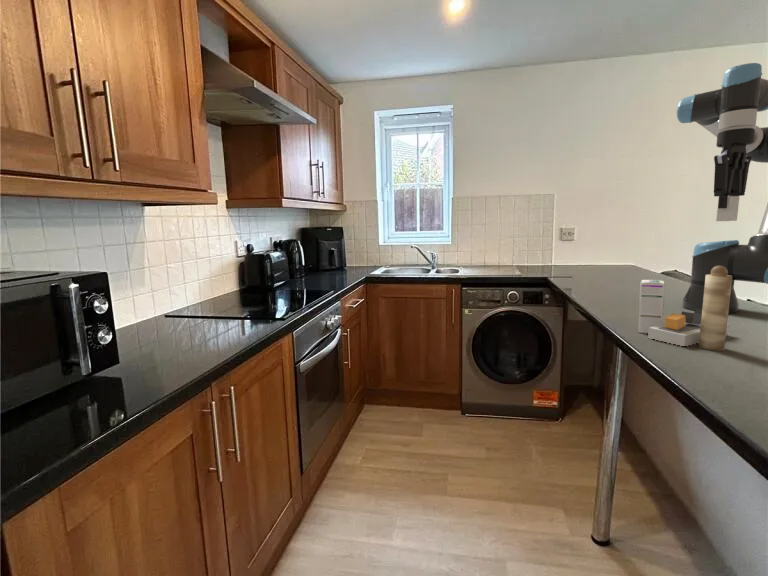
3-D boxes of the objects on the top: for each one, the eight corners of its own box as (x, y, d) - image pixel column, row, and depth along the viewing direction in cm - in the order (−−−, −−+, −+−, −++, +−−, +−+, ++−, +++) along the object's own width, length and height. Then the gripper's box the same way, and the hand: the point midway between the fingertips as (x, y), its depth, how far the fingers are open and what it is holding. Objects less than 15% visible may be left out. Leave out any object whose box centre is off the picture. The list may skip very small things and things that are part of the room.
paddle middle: (687, 322, 113) (689, 312, 113) (699, 324, 110) (701, 314, 110) (679, 321, 111) (682, 311, 111) (692, 323, 109) (694, 313, 109)
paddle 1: (673, 323, 110) (673, 313, 110) (685, 325, 108) (685, 315, 107) (665, 327, 109) (664, 317, 108) (677, 330, 106) (676, 320, 106)
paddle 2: (700, 319, 116) (702, 309, 115) (712, 321, 113) (714, 311, 113) (692, 318, 114) (695, 308, 114) (705, 320, 111) (707, 310, 111)
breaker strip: (691, 328, 120) (692, 317, 119) (727, 335, 112) (729, 323, 111) (647, 338, 111) (648, 326, 111) (683, 347, 103) (685, 334, 103)
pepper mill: (705, 343, 106) (713, 264, 102) (728, 348, 101) (737, 265, 98) (694, 346, 103) (702, 265, 100) (717, 352, 99) (726, 267, 96)
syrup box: (662, 335, 114) (666, 283, 111) (636, 332, 117) (640, 281, 115) (661, 330, 119) (665, 280, 116) (637, 327, 122) (640, 279, 119)
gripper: (735, 134, 115) (726, 220, 119) (702, 130, 108) (694, 221, 112) (769, 128, 108) (759, 219, 112) (736, 124, 101) (726, 221, 105)
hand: (726, 220), depth 112 cm, fingers open, 3 cm apart
